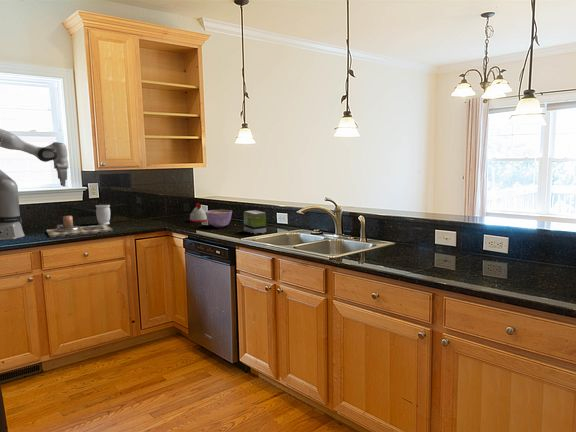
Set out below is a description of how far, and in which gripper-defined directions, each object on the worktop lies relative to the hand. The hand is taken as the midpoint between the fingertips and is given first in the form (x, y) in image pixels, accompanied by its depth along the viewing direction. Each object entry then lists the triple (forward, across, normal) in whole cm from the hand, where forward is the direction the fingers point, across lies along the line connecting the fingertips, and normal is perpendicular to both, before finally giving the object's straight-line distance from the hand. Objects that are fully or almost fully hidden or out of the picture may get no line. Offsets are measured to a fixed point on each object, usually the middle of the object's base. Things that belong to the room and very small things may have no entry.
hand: (63, 185), depth 305 cm
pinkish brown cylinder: (+29, +1, 0) cm, 29 cm away
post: (+32, +1, +1) cm, 32 cm away
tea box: (+35, +74, +111) cm, 138 cm away
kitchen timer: (+35, +4, +97) cm, 103 cm away
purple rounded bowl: (+35, +38, +100) cm, 112 cm away
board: (+33, +2, +8) cm, 34 cm away
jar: (+34, -23, +29) cm, 50 cm away
